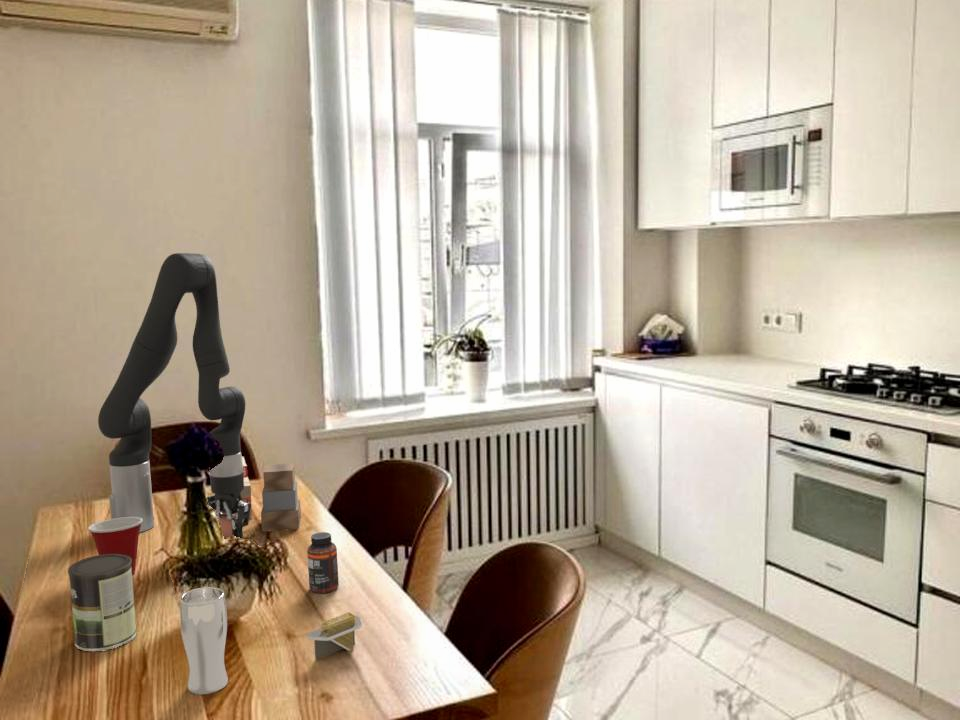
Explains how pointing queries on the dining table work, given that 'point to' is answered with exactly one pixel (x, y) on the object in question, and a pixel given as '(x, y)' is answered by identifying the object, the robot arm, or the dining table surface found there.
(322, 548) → the supplement bottle
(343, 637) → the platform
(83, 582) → the coffee can
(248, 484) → the stack of blocks
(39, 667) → the dining table surface
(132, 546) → the plastic cup
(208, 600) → the beer glass
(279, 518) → the tower bottom
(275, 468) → the tower top
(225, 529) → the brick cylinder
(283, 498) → the tower middle
